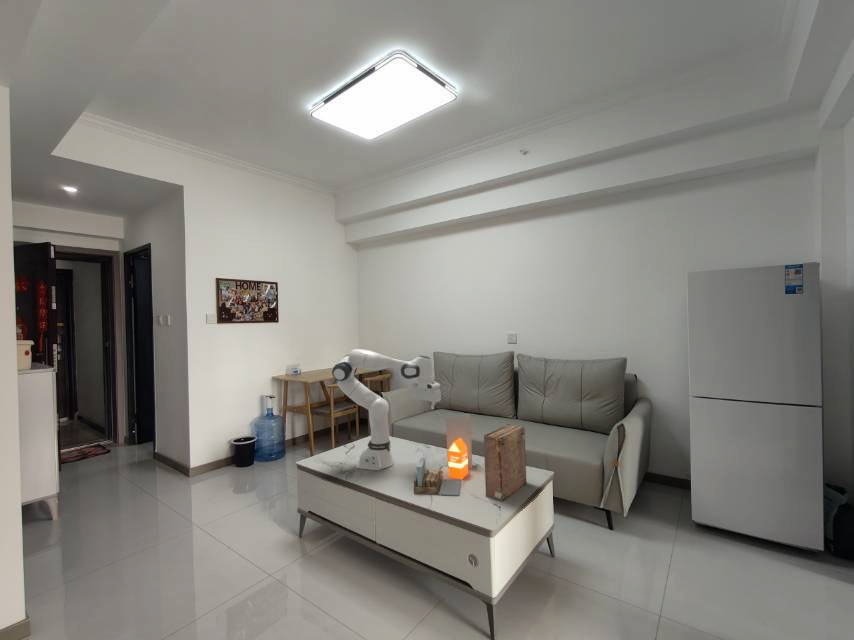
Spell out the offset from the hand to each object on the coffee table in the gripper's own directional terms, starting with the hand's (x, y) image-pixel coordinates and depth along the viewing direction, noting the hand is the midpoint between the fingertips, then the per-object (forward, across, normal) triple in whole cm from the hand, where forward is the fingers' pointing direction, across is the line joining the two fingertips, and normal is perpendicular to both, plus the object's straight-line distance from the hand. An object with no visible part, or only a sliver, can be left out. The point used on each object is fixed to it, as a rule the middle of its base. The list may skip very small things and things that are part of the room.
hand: (425, 408), depth 225 cm
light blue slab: (+36, +11, -18) cm, 42 cm away
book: (+36, +48, +5) cm, 61 cm away
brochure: (+36, +11, +16) cm, 41 cm away
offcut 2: (+37, +16, -14) cm, 43 cm away
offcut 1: (+37, +14, -16) cm, 42 cm away
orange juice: (+36, +18, +5) cm, 41 cm away
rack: (+36, +13, -16) cm, 42 cm away
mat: (+36, +24, -10) cm, 45 cm away
